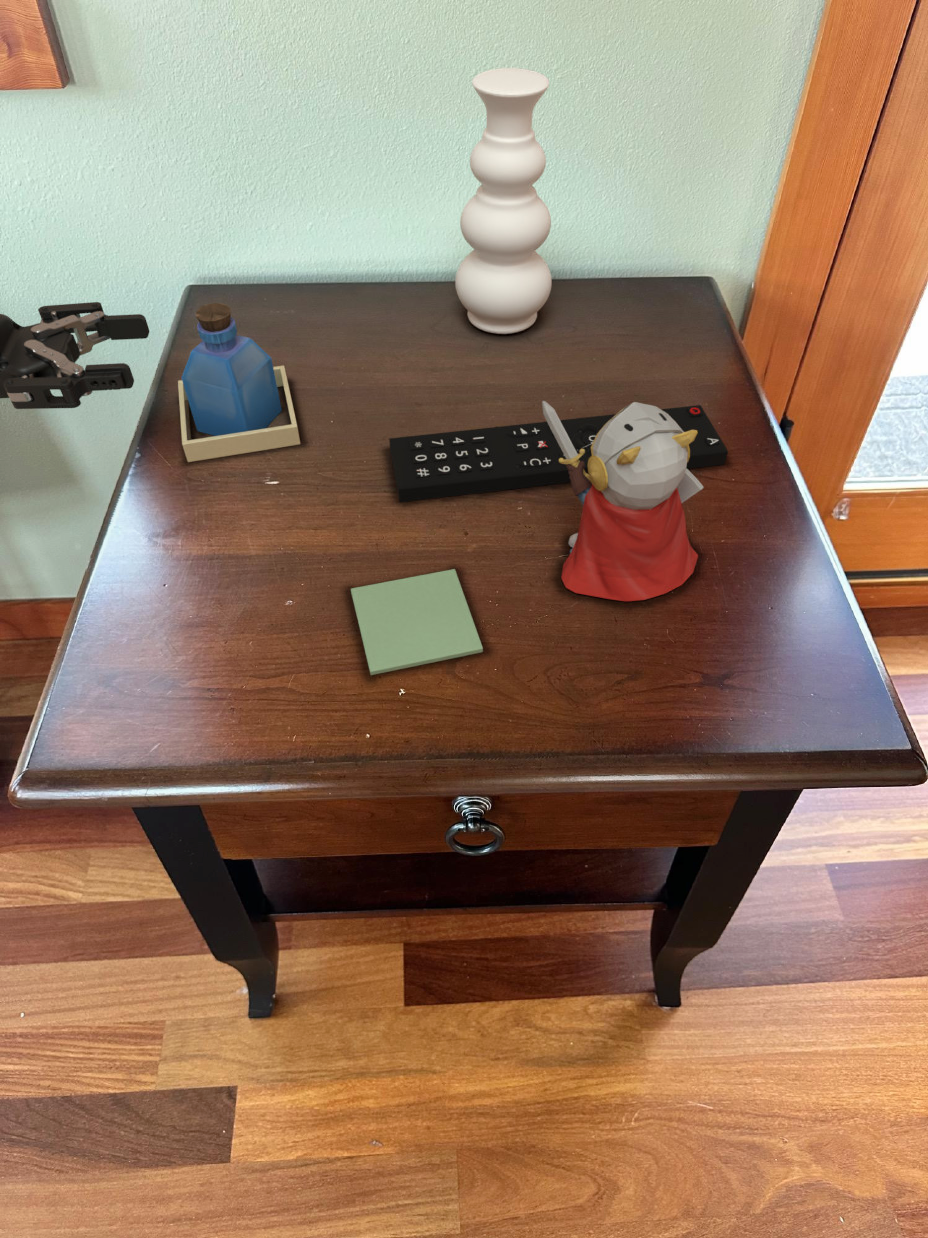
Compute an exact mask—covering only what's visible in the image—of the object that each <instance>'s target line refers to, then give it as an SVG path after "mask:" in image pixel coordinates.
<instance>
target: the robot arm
mask: <svg viewBox="0 0 928 1238" xmlns="http://www.w3.org/2000/svg"><path fill="white" fill-rule="evenodd" d="M37 312H38V313H39V315H40V319H41V320H40V322H39V323H38V322H37V323H35V324H31V325H26V326H22V325H20V324H18V323H17V322H16V321H14V320H13V319H12V318H11V317H10V316H8V315H6V314H4V313H0V399H9V400H10V401H11V404H12V406H13V408H14V409H16V410H43V409H46V410H47V409H76V408H78V407H80V406H81V404H82V401H81V398H82V397H87V396H90V395H91V394H92V393H93V392H97V391H100V392H101V391H112V390H113V391H117V390H119V391H120V390H127V389H128V390H129V389H132V388H133V386H134V383H135V378H134V375H133V372H132V369H131V366H130V365H129V364H127V363H124V362H120V363H117V362H116V363H101V364H100V363H99V364H86V365H85V368H84V367H83V366H82V365H80V364H78V363H76V362H77V361H78V360H79V359H80V357H81V356H83V355H86V354H87V353H90V352H91V351H92V350H93V347H94V346H95V345H98V344H100V343H102V342H106V341H108V340H111V341H121V340H122V341H123V340H143V339H144V340H145V339H147V338H148V337H149V335H150V328H149V325H148V321H147V319H146V316H144V315H143V314H141V313H137V314H135V313H133V314H117V315H114V314H113V315H108V314H105V311H104V308H103V306H102V303H101V302H99V301H93V302H78V303H65V304H63V303H62V304H53V305H52V304H50V305H43V306H39V307H38V309H37ZM82 314H83V316H81V315H82ZM84 314H85V315H84ZM92 332H93V333H92ZM88 333H91V334H89V335H88ZM74 334H75V335H74ZM51 390H53V391H56V390H57V391H58V390H59V391H60V393H61V395H58V396H57V395H54V394H53V393H52V391H51Z"/></svg>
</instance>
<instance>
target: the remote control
mask: <svg viewBox="0 0 928 1238" xmlns="http://www.w3.org/2000/svg"><path fill="white" fill-rule="evenodd" d="M660 409H661V410H662V411H664V412H666V413H667V414H668V415H669V416H670V417H671V418H672V419H673V420H674V421H675V422H676V423H677V424H678V425H679V427H680V428H681V429H682V430H683V431H684V432H687V431H690V430H697V432H698V433H697V435H696V437H695V439H694V441H693V442H691V443H690V444H689V448H690V458H689V461H688V462H687V466H686V468H687V469H688V470H691V469H699V468H707V467H715V466H724V465H725V463H726V460H727V456H728V453H729V450H728V449H727V446H725V444H724V442H723V440H722V438H721V436H720V435H719V434H718V432H717V430H716V428H715V426H713V423H712V422H711V420H710V418H709V417H708V415H707V414H706V412H705V411H704V409H703V407H702V405H701V404H697V405H687V406H679V407H671V408H660ZM616 414H617V413H612V414H604V415H595V416H585V417H577V418H576V417H575V418H568V419H567V418H565V419H560V421H561V423H562V425H563V427H564V429H565V431H566V433H567V435H568V437H569V439H570V440H571V442H572V444H573V446H574V448H575V450H576V452H577V454H579V453H580V452H579V451H580V449H584V450H585V453H584V454H583V455H582V456H581V457H580V458H579V460H580V461H581V460H582V461H584V462H585V468H584V470H585V472H586V473H587V474H589V473H588V460H589V458H590V457H591V456H592V453H591V446H592V443H593V442H594V439H595V437H596V435H597V433H598V432H599V431H600V430H601V429H602V427H603V426H604V425H605V424H606V423H607V422H608V421H609V420H610V419H611V418H613V417H614V416H615V415H616ZM388 440H389V441H388V442H389V452H390V458H391V463H392V469H393V474H394V479H395V480H394V481H395V484H396V490H397V497H398V501H399V503H405V502H413V501H422V500H431V499H440V498H449V497H458V496H465V495H475V494H482V493H491V492H500V491H507V490H517V489H525V488H534V487H535V488H536V487H545V486H553V485H560V484H561V485H562V484H569V483H570V484H571V479H570V478H569V477H570V475H569V473H568V471H569V470H568V469H567V467H566V465H567V464H561V463H559V459H560V458H563V459H566V457H565V455H564V453H563V451H562V449H561V448H560V446H559V444H558V442H557V440H556V438H555V436H554V434H553V432H552V430H551V428H550V426H549V425H548V423H547V421H539V422H531V423H520V424H510V425H501V426H492V427H483V428H475V429H463V430H454V431H446V432H436V433H427V434H426V433H425V434H419V435H409V436H408V435H407V436H399V437H390V438H389V439H388ZM589 444H591V445H589ZM587 445H588V446H587ZM585 446H586V447H585ZM583 447H584V448H583ZM590 453H591V454H590ZM589 454H590V455H589ZM586 456H587V457H586ZM585 457H586V458H585Z"/></svg>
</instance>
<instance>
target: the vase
mask: <svg viewBox="0 0 928 1238" xmlns="http://www.w3.org/2000/svg"><path fill="white" fill-rule="evenodd" d="M471 81H472V82H471V83H472V87H473V89H474V90H475V92H476V94H477V95H478V96H479V98H480V99H481V101H482V103H483V104H484V106H485V111H486V127H485V128H484V129H483V131H482V136H481V139H480V140H479V141H478V142H477V143H476V144H475V146H474V147H473V149H472V150H471V153H470V156H469V167H470V171H471V173H472V175H473V176H474V177H475V179H476V181H478V182H479V183H480V184H481V185H480V186H479V187H478V188H477V189H476V193H475V195H473V196H472V197H471V198H470V199H469V200H468V201H467V203H465V205H464V207H463V209H462V211H461V215H460V219H459V220H460V221H459V225H460V231H461V234H462V236H463V238H464V240H465V241H466V243H467V244H468V245H469V246H470V248H472V249H473V250H472V251H471V252H470V253H468V254H467V255H466V256H465V257H464V259H463V260H462V261H461V263H459V266H458V268H457V271H456V273H455V278H454V279H455V280H454V284H455V291H456V294H457V297H458V299H459V301H460V303H461V304H462V306H463V307H464V308H465V309H466V310H467V318H468V320H469V322H470V323H471V324H472V325H473V326H474V327H476V328H477V329H479V330H480V331H481V330H482V331H484V332H487V333H491V334H497V335H500V334H501V335H507V334H509V335H510V334H515V333H520V332H522V331H525V330H526V329H529V328H530V327H532V326H533V325H534V323H536V320H537V318H538V312H539V311H540V310H541V309H542V308H543V307H544V305H545V304H546V302H547V301H548V299H549V296H550V294H551V292H552V284H553V283H552V274H551V270H550V268H549V266H548V264H547V262H546V260H545V259H544V258H543V257H542V256H541V255H540V254H539V253H538V252H537V251H536V250H538V249H539V248H541V246H542V245H543V244H544V243H545V242H546V240H547V238H548V236H550V235H549V234H550V232H551V228H552V218H551V213H550V210H549V208H548V206H547V205H546V203H545V202H544V201H543V199H542V198H541V197H540V196H538V191H537V189H536V188H535V186H533V185H534V184H535V183H536V182H538V181H539V179H540V178H541V177H542V176H543V174H544V172H545V170H546V166H547V158H546V154H545V151H544V149H543V147H542V146H541V145H540V143H539V142H538V141H537V139H536V133H535V130H534V129H533V128H532V127H533V113H534V109H535V107H536V105H537V103H538V102H539V101H540V99H541V98H542V97H543V96H544V94H545V92H546V91H547V90H548V89H549V87H550V80H549V78H548V77H547V76H545V75H544V74H542V73H540V72H539V71H535V70H530V69H527V68H518V67H499V68H493V69H488V70H486V71H481V72H480V73H478V74H476V75H475V76H474V77H473V78H472V79H471Z"/></svg>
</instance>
